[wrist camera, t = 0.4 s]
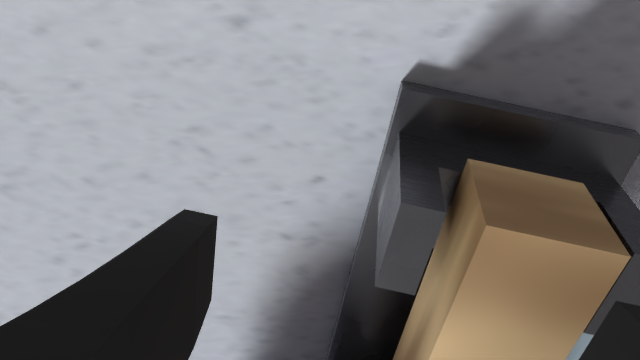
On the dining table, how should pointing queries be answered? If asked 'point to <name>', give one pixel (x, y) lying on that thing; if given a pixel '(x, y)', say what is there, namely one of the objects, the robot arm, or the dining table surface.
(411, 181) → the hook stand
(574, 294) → the oak rail
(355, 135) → the dining table surface
